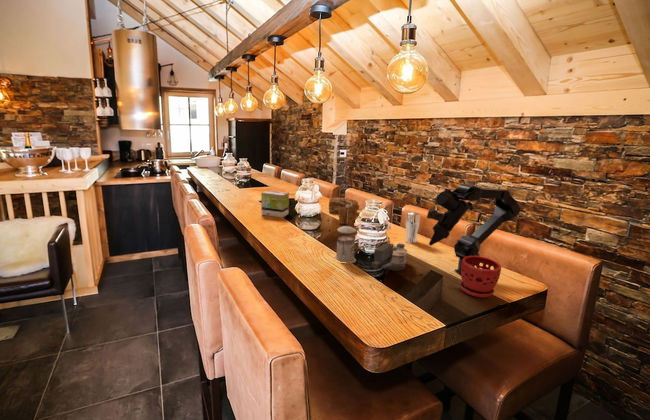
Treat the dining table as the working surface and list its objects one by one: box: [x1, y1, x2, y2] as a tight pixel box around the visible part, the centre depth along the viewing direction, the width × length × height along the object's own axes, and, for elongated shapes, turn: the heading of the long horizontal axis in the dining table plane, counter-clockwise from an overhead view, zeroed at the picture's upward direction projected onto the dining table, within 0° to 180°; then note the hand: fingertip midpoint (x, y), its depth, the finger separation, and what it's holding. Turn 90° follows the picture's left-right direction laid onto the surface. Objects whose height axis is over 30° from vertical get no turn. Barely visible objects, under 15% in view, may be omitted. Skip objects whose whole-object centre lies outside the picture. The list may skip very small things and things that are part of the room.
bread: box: [328, 197, 359, 214], centre depth 241 cm, size 19×11×10 cm, turn 76°
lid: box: [373, 242, 408, 263], centre depth 147 cm, size 23×10×5 cm, turn 144°
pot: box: [370, 254, 407, 272], centre depth 149 cm, size 23×10×6 cm, turn 139°
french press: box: [334, 205, 357, 264], centre depth 154 cm, size 10×12×25 cm
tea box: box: [260, 189, 290, 218], centre depth 227 cm, size 15×10×15 cm, turn 73°
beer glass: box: [404, 211, 421, 244], centre depth 184 cm, size 7×7×15 cm
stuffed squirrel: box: [337, 202, 361, 227], centre depth 213 cm, size 10×14×13 cm
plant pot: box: [459, 255, 502, 298], centre depth 129 cm, size 13×13×12 cm
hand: (429, 244), depth 143 cm, fingers closed
